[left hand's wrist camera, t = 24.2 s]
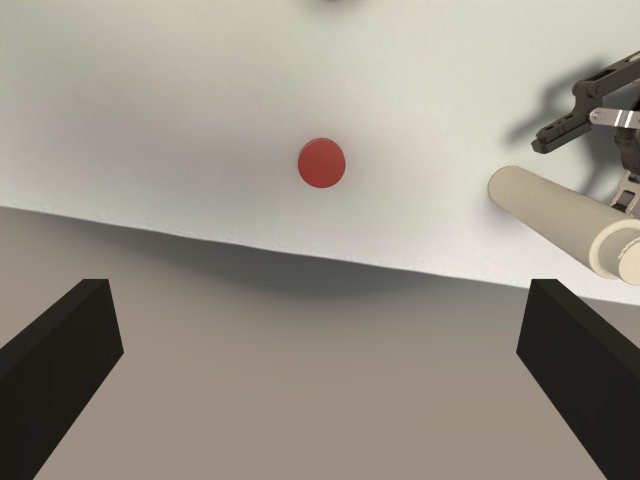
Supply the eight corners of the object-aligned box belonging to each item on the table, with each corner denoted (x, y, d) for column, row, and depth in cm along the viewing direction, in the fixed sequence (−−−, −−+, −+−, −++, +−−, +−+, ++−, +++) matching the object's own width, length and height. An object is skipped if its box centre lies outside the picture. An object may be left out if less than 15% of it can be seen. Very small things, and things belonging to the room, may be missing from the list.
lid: (295, 142, 39) (293, 146, 37) (340, 134, 39) (341, 137, 37) (304, 186, 41) (303, 191, 39) (347, 178, 40) (348, 183, 38)
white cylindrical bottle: (536, 172, 40) (697, 241, 23) (517, 210, 41) (656, 301, 24) (498, 160, 40) (634, 221, 22) (481, 199, 41) (595, 284, 24)
